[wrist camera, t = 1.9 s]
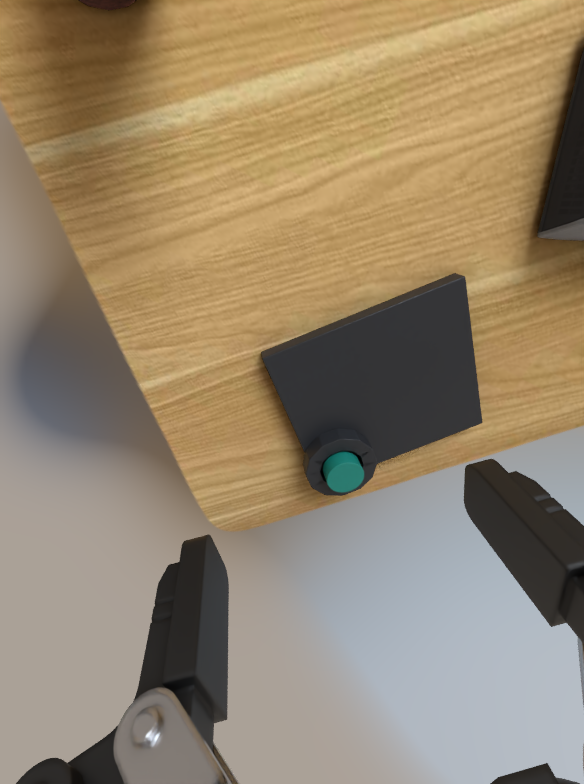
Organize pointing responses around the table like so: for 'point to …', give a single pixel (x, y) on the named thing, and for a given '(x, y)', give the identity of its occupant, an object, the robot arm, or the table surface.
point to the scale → (381, 379)
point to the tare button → (343, 472)
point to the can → (108, 3)
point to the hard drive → (568, 175)
